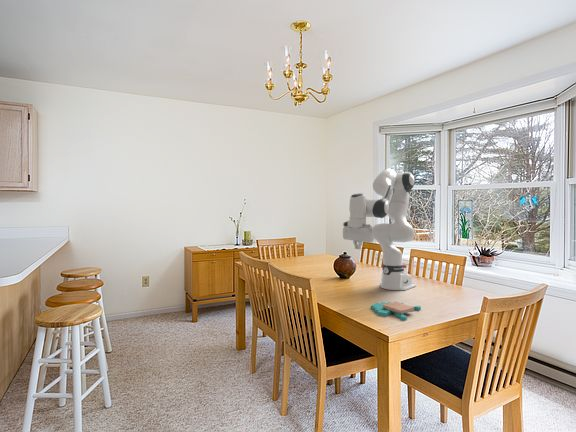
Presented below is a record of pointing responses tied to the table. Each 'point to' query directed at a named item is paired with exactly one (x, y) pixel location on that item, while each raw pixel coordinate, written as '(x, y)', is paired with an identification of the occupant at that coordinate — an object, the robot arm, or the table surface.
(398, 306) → the tile
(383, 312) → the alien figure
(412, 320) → the table surface
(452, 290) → the table surface
